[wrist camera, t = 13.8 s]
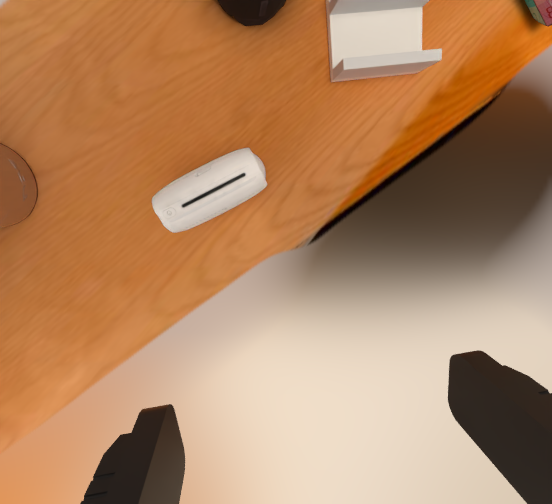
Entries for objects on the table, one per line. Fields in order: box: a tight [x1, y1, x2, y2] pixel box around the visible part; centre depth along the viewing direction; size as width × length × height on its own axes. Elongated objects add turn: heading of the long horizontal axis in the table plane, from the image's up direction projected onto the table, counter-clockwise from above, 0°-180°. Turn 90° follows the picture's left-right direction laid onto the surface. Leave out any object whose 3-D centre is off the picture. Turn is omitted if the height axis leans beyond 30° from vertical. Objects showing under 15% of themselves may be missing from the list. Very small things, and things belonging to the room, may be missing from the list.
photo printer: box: [152, 148, 267, 233], centre depth 30 cm, size 10×4×12 cm, turn 116°
